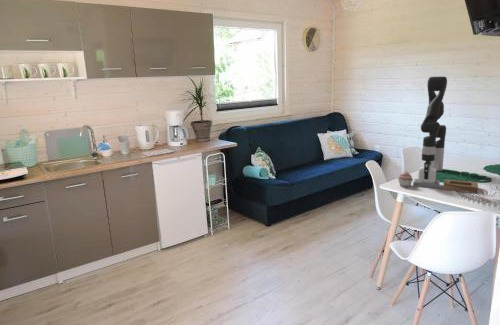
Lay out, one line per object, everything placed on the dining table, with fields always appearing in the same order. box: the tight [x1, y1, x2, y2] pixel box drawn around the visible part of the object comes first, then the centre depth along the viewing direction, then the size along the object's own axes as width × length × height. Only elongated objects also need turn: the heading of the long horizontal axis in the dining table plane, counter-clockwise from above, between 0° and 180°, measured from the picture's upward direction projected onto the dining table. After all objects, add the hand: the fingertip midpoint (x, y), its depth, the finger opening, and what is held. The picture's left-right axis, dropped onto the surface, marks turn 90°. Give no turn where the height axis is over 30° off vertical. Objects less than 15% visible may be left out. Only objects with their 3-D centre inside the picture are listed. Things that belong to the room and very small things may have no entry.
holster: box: [412, 178, 441, 189], centre depth 232 cm, size 8×14×2 cm, turn 59°
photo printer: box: [417, 166, 437, 183], centre depth 231 cm, size 10×4×12 cm, turn 67°
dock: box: [442, 179, 479, 194], centre depth 222 cm, size 11×18×4 cm, turn 59°
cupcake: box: [397, 170, 414, 188], centre depth 232 cm, size 9×9×10 cm
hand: (426, 177), depth 231 cm, fingers open, 8 cm apart
